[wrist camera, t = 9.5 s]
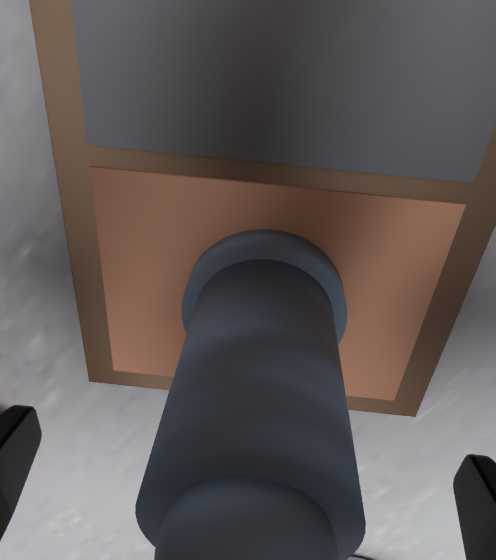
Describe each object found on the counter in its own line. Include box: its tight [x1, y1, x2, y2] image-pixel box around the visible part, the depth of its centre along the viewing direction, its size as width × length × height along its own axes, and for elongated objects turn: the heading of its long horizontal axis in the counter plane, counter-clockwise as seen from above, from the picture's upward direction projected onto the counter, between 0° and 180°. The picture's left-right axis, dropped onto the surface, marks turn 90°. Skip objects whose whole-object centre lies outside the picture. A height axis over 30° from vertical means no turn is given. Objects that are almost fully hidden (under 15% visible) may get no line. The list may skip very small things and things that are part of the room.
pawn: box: [136, 229, 366, 560], centre depth 10 cm, size 5×5×9 cm
